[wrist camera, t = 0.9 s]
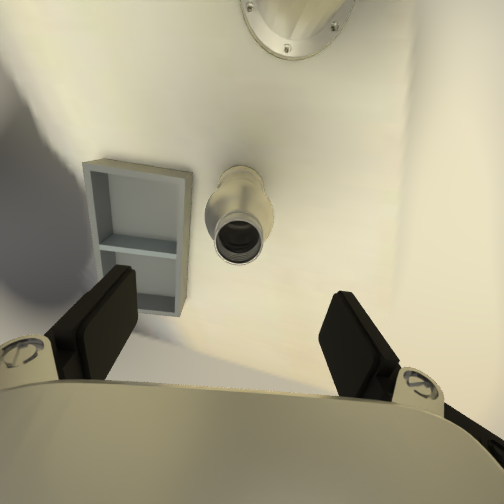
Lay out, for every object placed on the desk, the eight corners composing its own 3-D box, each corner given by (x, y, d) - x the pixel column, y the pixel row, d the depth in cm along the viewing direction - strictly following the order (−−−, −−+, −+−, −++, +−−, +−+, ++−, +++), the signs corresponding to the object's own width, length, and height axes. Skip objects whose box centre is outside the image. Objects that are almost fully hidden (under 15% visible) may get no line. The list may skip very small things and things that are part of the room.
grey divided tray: (104, 158, 33) (82, 162, 28) (192, 172, 34) (185, 178, 30) (117, 290, 42) (102, 309, 38) (186, 298, 43) (179, 317, 39)
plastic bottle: (220, 210, 37) (198, 284, 19) (217, 163, 34) (187, 197, 16) (262, 209, 37) (281, 281, 19) (263, 162, 34) (285, 195, 16)
